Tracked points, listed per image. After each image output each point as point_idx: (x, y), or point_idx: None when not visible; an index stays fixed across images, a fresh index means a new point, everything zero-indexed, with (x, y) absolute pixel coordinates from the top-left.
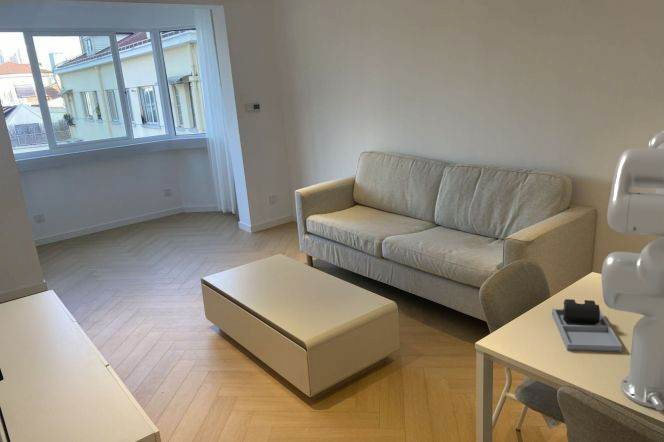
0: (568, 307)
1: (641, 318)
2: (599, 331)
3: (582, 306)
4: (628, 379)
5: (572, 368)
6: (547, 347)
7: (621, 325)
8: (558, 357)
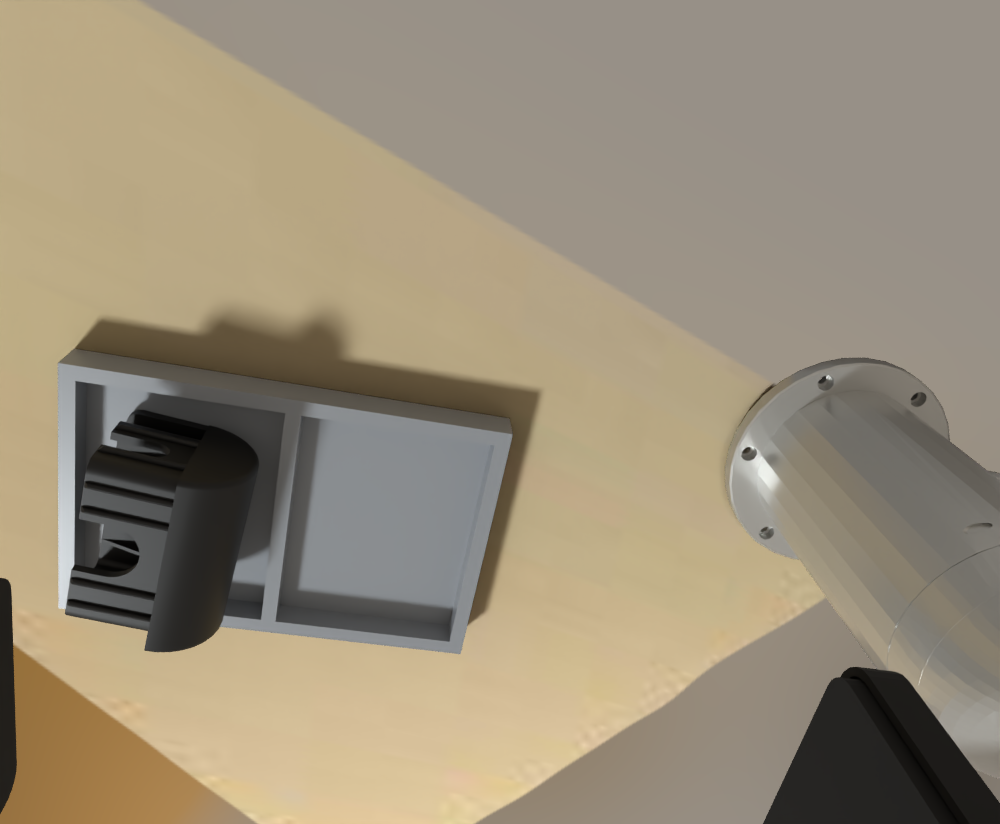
0: (188, 634)
1: (989, 765)
2: (304, 444)
3: (190, 570)
4: (756, 515)
5: (600, 655)
6: (423, 694)
7: (220, 285)
8: (510, 678)
